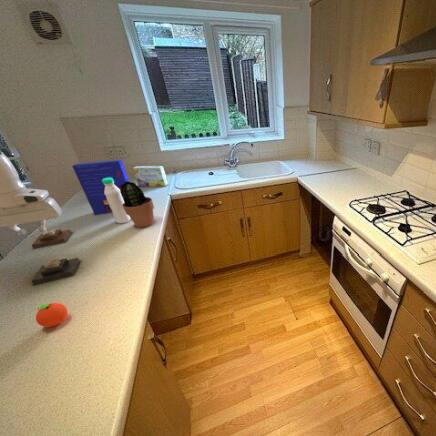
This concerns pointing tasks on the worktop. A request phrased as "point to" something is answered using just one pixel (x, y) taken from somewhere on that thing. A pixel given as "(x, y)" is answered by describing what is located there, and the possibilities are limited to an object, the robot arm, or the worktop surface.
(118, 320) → the worktop surface
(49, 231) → the back key
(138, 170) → the snack box
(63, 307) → the tomato
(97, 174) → the cereal box
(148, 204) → the potted plant
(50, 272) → the dark slab
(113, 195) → the water bottle
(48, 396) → the worktop surface
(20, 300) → the worktop surface
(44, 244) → the reddish brown slab
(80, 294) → the worktop surface
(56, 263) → the front key
